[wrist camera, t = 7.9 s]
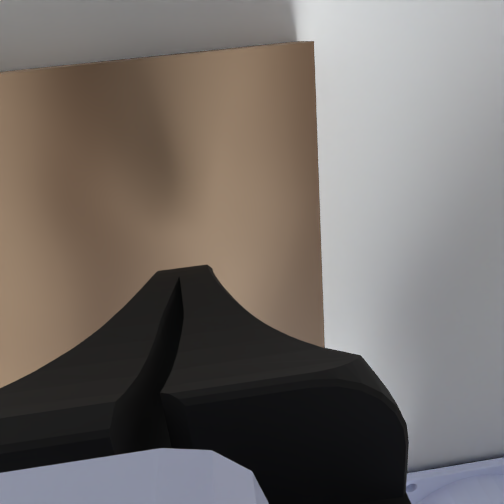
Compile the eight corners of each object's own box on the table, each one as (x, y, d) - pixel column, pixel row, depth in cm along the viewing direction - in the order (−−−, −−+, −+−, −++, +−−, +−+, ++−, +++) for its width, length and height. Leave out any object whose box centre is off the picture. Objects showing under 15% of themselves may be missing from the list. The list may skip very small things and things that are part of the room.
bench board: (297, 41, 14) (313, 41, 12) (312, 354, 18) (325, 388, 16) (-130, 85, 13) (-182, 92, 11) (-3, 400, 17) (-26, 442, 16)
